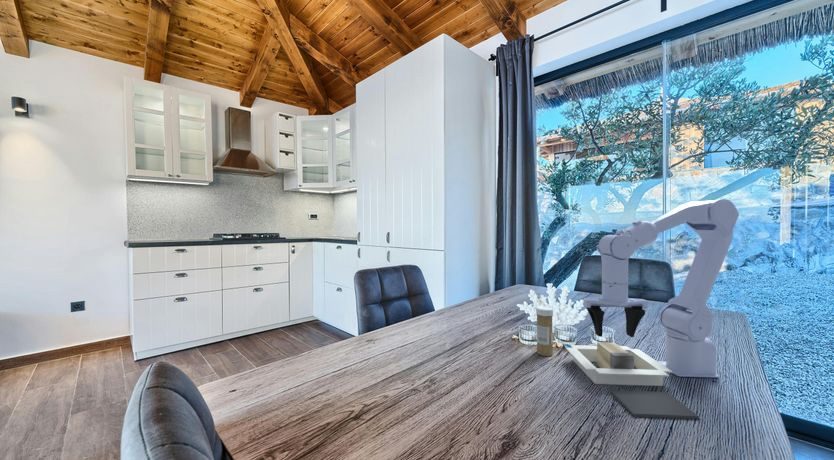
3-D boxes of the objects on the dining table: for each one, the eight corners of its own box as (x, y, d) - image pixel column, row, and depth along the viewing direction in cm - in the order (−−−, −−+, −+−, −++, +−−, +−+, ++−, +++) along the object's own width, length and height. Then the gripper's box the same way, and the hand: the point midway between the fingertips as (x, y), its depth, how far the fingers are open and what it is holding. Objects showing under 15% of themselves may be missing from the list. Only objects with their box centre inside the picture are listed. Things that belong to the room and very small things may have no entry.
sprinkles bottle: (556, 354, 95) (556, 308, 94) (546, 357, 92) (546, 310, 92) (542, 349, 99) (542, 304, 98) (532, 352, 96) (532, 307, 96)
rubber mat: (667, 394, 72) (667, 391, 72) (698, 419, 63) (698, 416, 63) (610, 392, 73) (610, 390, 73) (633, 416, 64) (633, 413, 64)
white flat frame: (634, 358, 91) (634, 346, 91) (678, 390, 74) (678, 375, 74) (563, 357, 93) (563, 344, 93) (590, 387, 76) (590, 373, 75)
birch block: (614, 364, 88) (614, 342, 87) (633, 381, 79) (634, 356, 79) (596, 364, 88) (596, 341, 88) (613, 380, 79) (614, 355, 79)
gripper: (592, 285, 79) (591, 340, 80) (655, 285, 78) (654, 341, 79) (580, 279, 86) (579, 330, 87) (637, 280, 85) (637, 331, 86)
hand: (614, 335), depth 83 cm, fingers open, 7 cm apart
